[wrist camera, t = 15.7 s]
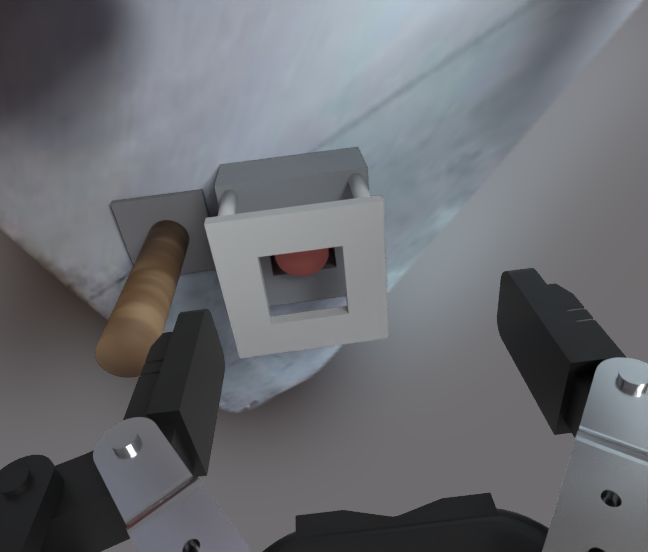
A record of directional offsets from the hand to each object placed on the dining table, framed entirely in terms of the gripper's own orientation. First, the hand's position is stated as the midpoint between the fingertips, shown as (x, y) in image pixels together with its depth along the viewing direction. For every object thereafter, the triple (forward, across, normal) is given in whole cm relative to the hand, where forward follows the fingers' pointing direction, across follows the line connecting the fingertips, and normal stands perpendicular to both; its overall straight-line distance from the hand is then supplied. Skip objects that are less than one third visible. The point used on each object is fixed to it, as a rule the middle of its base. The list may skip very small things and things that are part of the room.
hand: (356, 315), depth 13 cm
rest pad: (+29, +15, +11) cm, 35 cm away
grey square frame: (+30, +3, +12) cm, 32 cm away
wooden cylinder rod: (+29, +15, +11) cm, 34 cm away
